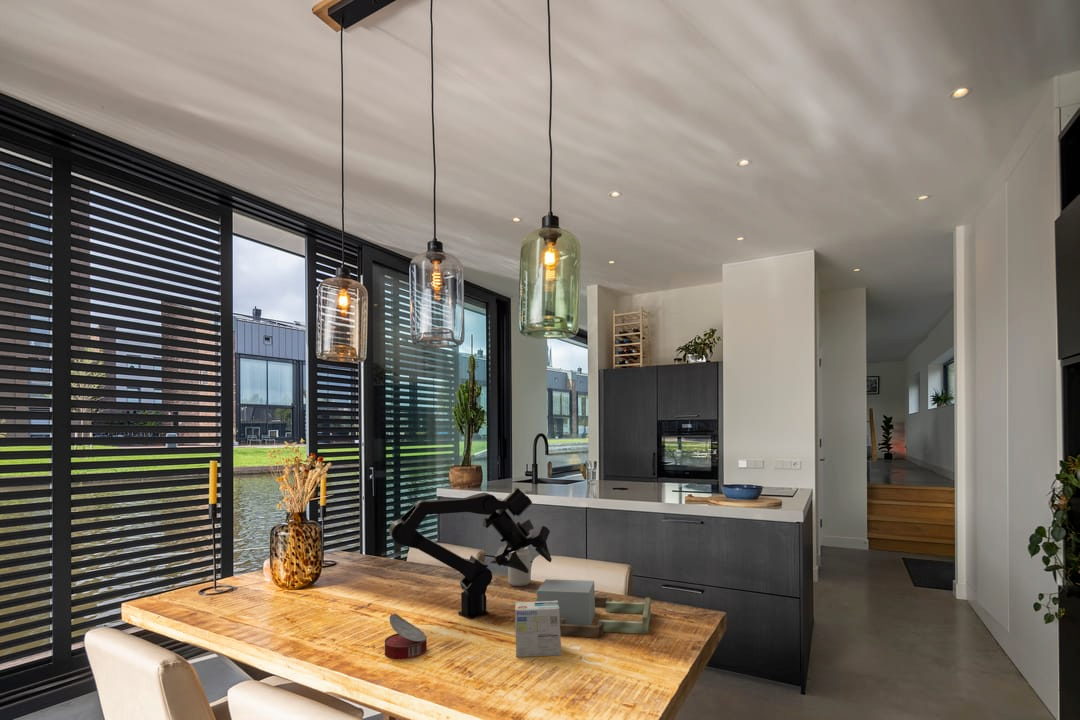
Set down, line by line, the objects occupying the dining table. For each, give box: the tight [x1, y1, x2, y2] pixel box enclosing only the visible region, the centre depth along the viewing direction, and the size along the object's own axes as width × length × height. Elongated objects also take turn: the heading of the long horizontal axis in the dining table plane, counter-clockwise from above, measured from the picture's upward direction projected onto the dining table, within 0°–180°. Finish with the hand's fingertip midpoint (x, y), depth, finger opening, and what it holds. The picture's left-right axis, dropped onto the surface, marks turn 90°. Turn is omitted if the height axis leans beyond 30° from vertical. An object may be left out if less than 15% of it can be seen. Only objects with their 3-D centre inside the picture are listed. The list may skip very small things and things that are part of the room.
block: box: [536, 578, 596, 625], centre depth 167 cm, size 14×12×9 cm
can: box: [507, 546, 532, 587], centre depth 204 cm, size 8×8×12 cm
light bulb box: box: [514, 601, 562, 658], centre depth 144 cm, size 11×7×11 cm, turn 92°
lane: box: [560, 596, 652, 639], centre depth 165 cm, size 30×27×4 cm
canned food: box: [384, 613, 428, 660], centre depth 146 cm, size 11×10×10 cm
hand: (539, 566), depth 181 cm, fingers open, 9 cm apart
